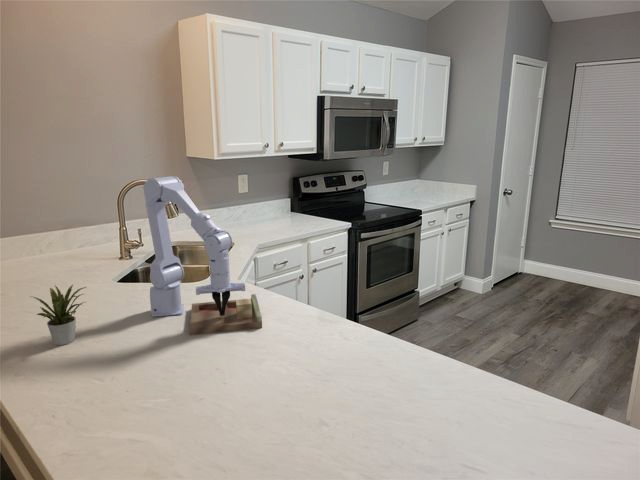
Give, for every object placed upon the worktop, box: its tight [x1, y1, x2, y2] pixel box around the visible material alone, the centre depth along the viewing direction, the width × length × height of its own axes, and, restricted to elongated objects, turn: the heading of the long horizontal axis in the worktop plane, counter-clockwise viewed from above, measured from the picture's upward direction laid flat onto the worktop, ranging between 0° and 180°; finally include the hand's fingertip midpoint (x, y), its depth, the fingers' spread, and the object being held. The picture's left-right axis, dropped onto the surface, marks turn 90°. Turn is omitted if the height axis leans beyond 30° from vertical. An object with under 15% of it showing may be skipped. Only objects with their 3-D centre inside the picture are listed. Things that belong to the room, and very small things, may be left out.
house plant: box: [29, 284, 87, 346], centre depth 127 cm, size 14×14×16 cm
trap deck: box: [188, 293, 263, 336], centre depth 143 cm, size 21×20×4 cm
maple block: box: [235, 298, 252, 319], centre depth 140 cm, size 4×4×4 cm
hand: (222, 314), depth 139 cm, fingers closed
